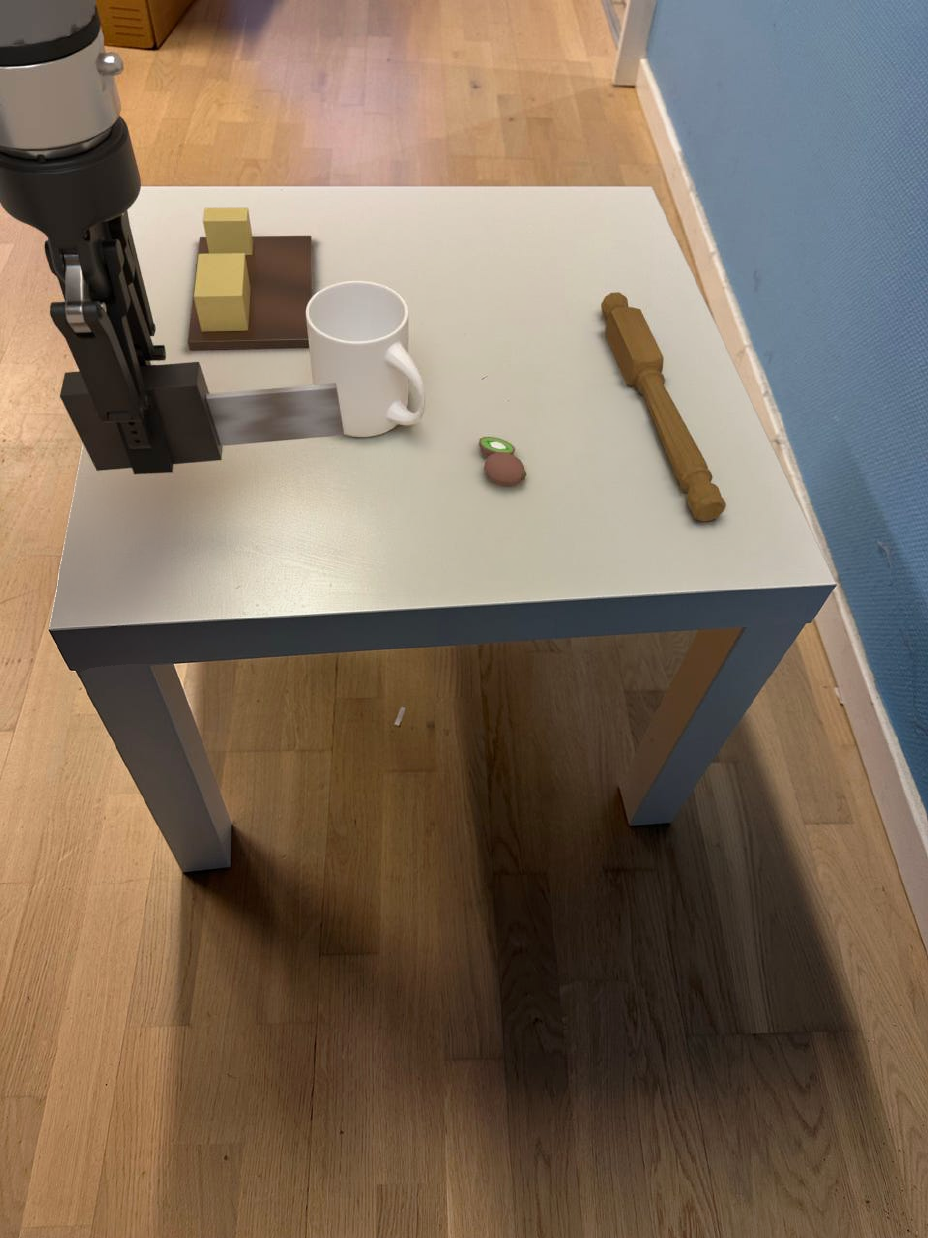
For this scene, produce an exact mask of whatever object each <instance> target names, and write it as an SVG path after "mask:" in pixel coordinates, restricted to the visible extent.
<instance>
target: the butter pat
mask: <svg viewBox="0 0 928 1238" xmlns="http://www.w3.org/2000/svg"><path fill="white" fill-rule="evenodd" d="M202 215H203V216H202V224H203V231H204V234H205V235H204V236H205V237H206V240H207V245H208V250H209V254H223V253H245V255H252V253H253V237H252V236H253V232H252V224H251V218H250V212H249V207H242V206H241V207H204V208H203V214H202Z"/></svg>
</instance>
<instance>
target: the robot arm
mask: <svg viewBox="0 0 928 1238" xmlns="http://www.w3.org/2000/svg"><path fill="white" fill-rule="evenodd" d="M97 7H98V6H97V2H96V0H0V206H1V207H2V208H3V210H4V211H5V213H7V214H8V215H9V216H11V217H12V218H14V219H15V220H17V221H19V222H20V223H22V224H26V225H28V226H30V227H32V228H34V229H36V230H38V231H39V232H41V233H42V234H44V235H45V236H46V238H47V239H46V240H45V241H44V253H45V257H46V261H47V264H48V267H49V270H50V272H51V273H52V274H53V275H54V276H55V277H56V279H57V281H58V284H59V287H60V290H61V293H62V297H63V299H64V301H52V302H51V303H50V305H49V316H50V318H51V320H52V322H53V324H54V326H55V327H56V328H57V330H58V331H59V332H60V334H61V335H62V336H63V337H64V339H65V341H66V344H67V346H68V348H69V350H70V354H71V355H72V357H73V360H74V362H75V364H76V367H77V369H78V371H80V373H81V376H82V378H83V380H84V383H85V385H86V387H87V389H88V392H89V394H90V396H91V398H92V401H93V403H94V405H95V407H94V408H95V410H96V411H97V412H98V414H99V417H100V419H101V421H102V422H103V423H106V422H116V424H117V427H118V430H119V433H120V436H121V439H122V441H123V444H124V447H125V450H126V453H127V455H128V458H129V461H130V464H131V467H132V468H131V470H132V472H133V475H147V474H148V475H149V474H172V473H174V464H173V462H172V459H171V455H170V452H169V449H168V445H167V442H166V439H165V435H164V432H163V429H162V426H161V422H160V419H159V416H158V412H157V409H156V406H155V402H154V399H153V396H152V395H147V393H146V390H145V386H144V382H143V378H142V375H141V371H140V366H152V365H153V364H152V363H151V362H160V361H161V362H162V361H166V359H167V352H166V345H165V344H154V343H153V340H152V337H155V334H156V330H157V327H156V324H155V323H154V318H153V315H152V311H151V305H150V301H149V298H148V294H147V290H146V286H145V281H144V277H143V274H142V273H143V272H142V269H141V265H140V260H139V257H138V253H137V248H136V245H135V240H134V237H133V232H132V228H131V223H130V218H129V212H128V210H129V209H130V208H131V207H132V206H133V205H134V204H135V202H136V201H137V199H138V198H139V196H140V193H141V189H142V177H141V173H140V171H139V166H138V162H137V159H136V155H135V151H134V146H133V143H132V138H131V134H130V131H129V127H128V124H127V122H126V121H125V119H124V118H123V117H122V116H121V115H120V114H121V112H122V106H121V103H122V102H121V100H120V96H119V95H120V94H119V92H118V88H117V83H116V78H115V77H116V76H119V75H121V74H122V73H123V71H124V61H123V59H122V57H121V56H120V55H119V54H118V53H117V52H113V51H109V52H107V51H106V47H105V43H104V42H105V35H104V32H103V30H102V26H101V18H100V15H99V11H98V8H97Z"/></svg>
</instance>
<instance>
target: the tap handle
mask: <svg viewBox="0 0 928 1238" xmlns="http://www.w3.org/2000/svg"><path fill="white" fill-rule="evenodd" d="M600 307H601V313H602V316H603V317H604V318H606V323H605V339H606V341H607V343H608V347H609V348H610V350H611V353H612V355H613V357H614V359H615V362H616V364H617V366H618V369H619V371H620V373H621V375H622V377H623V379H624V382H625V383H626V386H630V387H633V388H636V390H637V391H638V394H640V395H642V396H643V397H644V399H645V402H646V405H647V408H648V409H649V412H650V414H651V417H652V421H653V422H654V425H655V427H656V431H657V433H658V435H659V438H660V440H661V443H662V445H663V447H664V450H665V452H666V456H667V457H668V461H669V463H670V465H671V468H672V470H673V473H674V475H675V478H676V480H677V481H678V483H679V487H680V489H681V491H682V492H684V493H686V494H687V495H686V502H687V505H688V507H689V509H690V510H691V511H692V512H691V513H692V516H693V518H694V519H695V520H697V521H700V522H709V521H712V520H715V519H717V518H718V517H719V516H721V515H722V514H724V512H725V510H726V506H727V503H726V501H725V499H724V497H723V496H722V493H721V491H720V489H719V486H718V485H717V484H715V483H713V482H712V480H713V478H714V477H713V475H712V472H711V470H710V469H709V466H708V464H707V462H706V460H705V458H704V455H703V454H702V452H701V451H700V448H699V447H698V445H697V443H696V441H695V439H694V438H693V436H692V434H691V432H690V430H689V429H688V427H687V425H686V422H685V421H684V418H683V417H682V415H681V413H680V412H679V409H678V408H677V406H676V404H675V402H674V401H673V399H672V397H671V395H670V393H669V392H668V390H667V388H666V385H665V383H666V379H665V377H664V374H663V368H664V358H665V357H664V354H663V352H662V351H661V349H660V347H659V345H658V342H657V340H656V338H655V336H654V335H653V332H652V331H651V328H650V326H649V324H648V322H647V320H646V318H645V316H644V314H643V311H642V310H641V309H640V308H637V307H633V306H629V300H628V297H627V296H625V295H624V294H623V293H621V292H619V291H618V292H617V291H615V292H610V293H608V294H607V295H606V296H604V298H603V300H602V302H601V304H600Z"/></svg>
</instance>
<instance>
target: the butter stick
mask: <svg viewBox="0 0 928 1238" xmlns="http://www.w3.org/2000/svg"><path fill="white" fill-rule="evenodd" d="M197 257H198V265H197V264H196V266H197V273H196V272H195V275H196V282H195V281H194V283H195V291H194V290H193V292H194V300H195V304H196V309H197V313H198V317H199V322H200V326H201V331H202V332H209V331H248V324H249V306H250V282H249V276H248V270H247V264H246V257H245V253H223V254H199V256H198V255H197Z"/></svg>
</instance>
